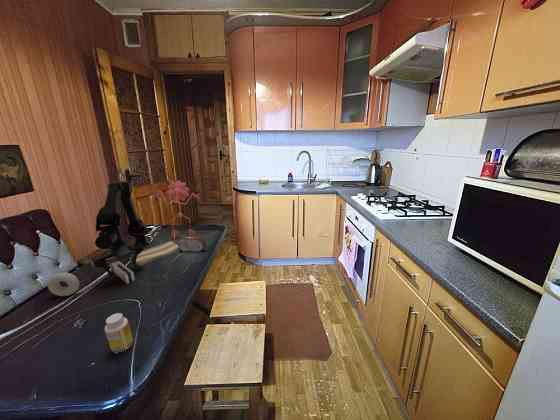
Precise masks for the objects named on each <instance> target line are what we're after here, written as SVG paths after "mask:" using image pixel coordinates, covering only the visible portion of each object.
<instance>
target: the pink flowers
mask: <svg viewBox="0 0 560 420" xmlns="http://www.w3.org/2000/svg"><path fill="white" fill-rule="evenodd" d="M186 185H187V184H186V182H182V181H181V180H177V181H176V182H175V181H174V180H172V181H171V182H170V185H167V188H168V190H167V191H166V194H167V195H168V196H169V198H170V200H174V201H171V202H166V199H165V197H164V193H163V191H162V190H159V191H156V193H155V194H154V195H155V196H154V197H155V198H156V200H158V199H160V198H161V197H162V198H163V201H164V203H165V205H167V204H173V203H175V204H178V205H180V207H179V212H178V213H177V215H176V216H175V217H174V218H173V219H171V220H170V223H171V227H172V229H173V230H172V232H171V234H170V236H171V237H173V241H176V237H177V236H178V234H179V231H178V230H177V229H175V227H174V225H173V221H174V220H175V219H176V218H183V217H184V218H186V219H188V221H189V222H191V219H190V218H189V217H187V216H184V214H183V213H182V212H181V211H182V205H187V204H188V202H189V201H190V199H191V198H192V196H193V197H194V198H196V199H197V200H198V201H201V200H202V198H201V197H200V196H199V195H198V194H196V193H194V192H191V195H190V194H189V191H190V188H189V187H187V186H186ZM186 198H188V199H187V201H186ZM181 201H182V202H181ZM184 201H186V202H185V203H184ZM191 228H192V227H191V226H189V229H188V230H187V233H188V234H189V236H197V233H196V231H195V230H193V229H191Z"/></svg>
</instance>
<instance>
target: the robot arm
mask: <svg viewBox="0 0 560 420" xmlns="http://www.w3.org/2000/svg"><path fill="white" fill-rule="evenodd" d="M107 188H108V190H107V194H106V198H105V202H104V206H102V207H101V208H99V210H98V212H97V214H96V216H95V218H96V219H95V232H98V236H97V237H96V239H95V240H94V244H95V247H97V249H99V250H108V253H109V254H108V255H107V254H106V255H104V256H103V254H97V255H95V256H91V258H90V264H91V265H92V266H93V267H94V268H99V269H104V271H105V272H106V273H107V274H108V276H110V277H112V276H113V275H112V272H111V270H110V269H111V268H110V266H109V264H108V263H107V261H109V260H111V259H116V261H120V262H122V261H124V260H126V259H129V258H130V257H131V259H130V260H131V265H132V267H133V268H135V267H136V258H137V256H138V255H139V254H140V253H141V251H144V250H145V248H144V247H145V246H148V245H150V242H148V241H147V236H148V235H149V228H148V227H147V226H146V224H145V223H144V221H143V220H142V219H140V218H139V217H138V214H137V210H136V208H135V203H134V202H133V199H132V193H133V189H134V188H133V183H132V182H131V181H129V180H128V181H115V182H110V183H108V184H107ZM120 201H121V204H122V207H123V209H124V212H125V214H126V218H127V221H128V224H127V227H126V228H127V229H126V230H127V233H128V236H129V238H133V239H134V242H133V243H132V244H129V245H126V243H125V241H124V238H123V235H122V231H121V226H122V215H121V213H120V211H119V205H120Z"/></svg>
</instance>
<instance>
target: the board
mask: <svg viewBox="0 0 560 420" xmlns="http://www.w3.org/2000/svg"><path fill="white" fill-rule="evenodd" d="M179 251H182V250H181V249H179V247H178V244H177V243H175V242H173V241H171V240H169V241H167V242H163V243H161V244H158V245H155V246H152V247H149V248H147V249H144V250H143V251H141V253H140V254H139V255H138V256H137V258H136V263H135V265H138V266H139V267H142V266H145V265H148V264H150V263H151V262H154V261H157V260H159V259H162V258H164V257H167V256H168V255H169V256H170V255H171V254H173V253H177V252H179ZM128 259H129V260H131V257H130V258H128Z"/></svg>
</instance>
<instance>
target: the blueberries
mask: <svg viewBox="0 0 560 420" xmlns="http://www.w3.org/2000/svg"><path fill="white" fill-rule="evenodd" d="M85 322H86V323H87V321H86V320H84V319H83V318H79V319H78V320H77V321H76V322H75V323H73V325H74V326H73V325H72V326H73V327H72V328H73V329H75V328H78V329H79V328H82V327H84V328H85V325H86V323H85ZM84 324H85V325H84ZM83 325H84V326H83ZM82 329H83V328H82ZM79 330H80V329H79Z"/></svg>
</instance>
